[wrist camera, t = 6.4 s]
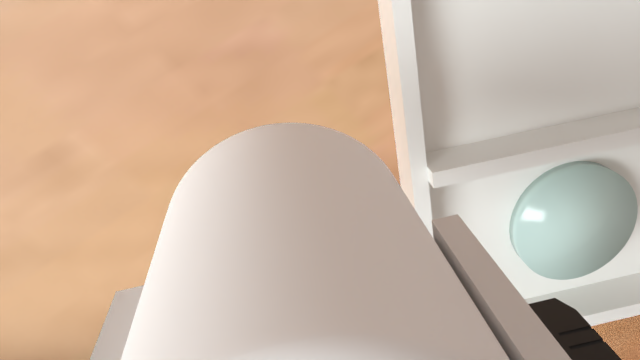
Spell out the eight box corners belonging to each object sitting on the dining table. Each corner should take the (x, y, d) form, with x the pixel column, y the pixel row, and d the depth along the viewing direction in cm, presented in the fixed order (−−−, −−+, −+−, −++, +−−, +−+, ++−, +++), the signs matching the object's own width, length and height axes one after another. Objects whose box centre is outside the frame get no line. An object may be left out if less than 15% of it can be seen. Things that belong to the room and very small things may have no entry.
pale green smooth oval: (621, 257, 39) (632, 266, 37) (509, 281, 38) (517, 290, 37) (630, 149, 35) (643, 156, 34) (508, 174, 35) (516, 182, 34)
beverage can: (331, 67, 16) (492, 303, 6) (438, 254, 20) (673, 636, 9) (116, 198, 17) (-111, 625, 6) (253, 356, 21) (256, 820, 10)
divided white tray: (693, 259, 41) (740, 291, 37) (417, 323, 40) (436, 362, 36) (747, -141, 30) (821, -155, 26) (369, -69, 29) (388, -72, 25)
